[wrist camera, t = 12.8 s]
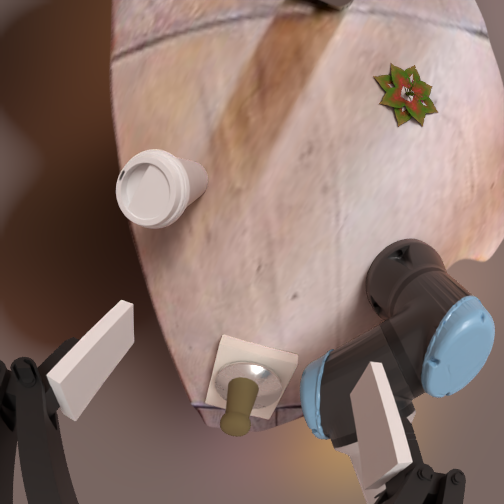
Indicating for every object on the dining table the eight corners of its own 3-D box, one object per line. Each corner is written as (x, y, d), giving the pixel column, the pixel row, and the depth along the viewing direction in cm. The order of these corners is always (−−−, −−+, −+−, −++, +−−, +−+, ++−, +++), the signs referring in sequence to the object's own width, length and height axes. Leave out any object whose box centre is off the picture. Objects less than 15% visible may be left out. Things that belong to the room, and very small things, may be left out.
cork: (249, 401, 50) (241, 444, 40) (222, 389, 50) (210, 431, 39) (264, 385, 48) (258, 430, 38) (236, 372, 48) (224, 417, 37)
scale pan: (291, 370, 47) (290, 374, 46) (270, 410, 52) (270, 414, 51) (222, 352, 48) (221, 356, 47) (211, 394, 52) (210, 398, 51)
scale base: (297, 354, 51) (298, 367, 47) (270, 410, 57) (268, 422, 54) (223, 334, 51) (218, 346, 48) (208, 393, 58) (203, 406, 54)
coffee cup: (196, 139, 40) (153, 131, 26) (229, 188, 42) (199, 203, 28) (152, 173, 43) (98, 183, 29) (182, 220, 45) (138, 247, 31)
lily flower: (359, 71, 34) (367, 63, 30) (415, 56, 31) (426, 48, 27) (393, 138, 37) (404, 136, 33) (445, 119, 34) (459, 116, 30)
